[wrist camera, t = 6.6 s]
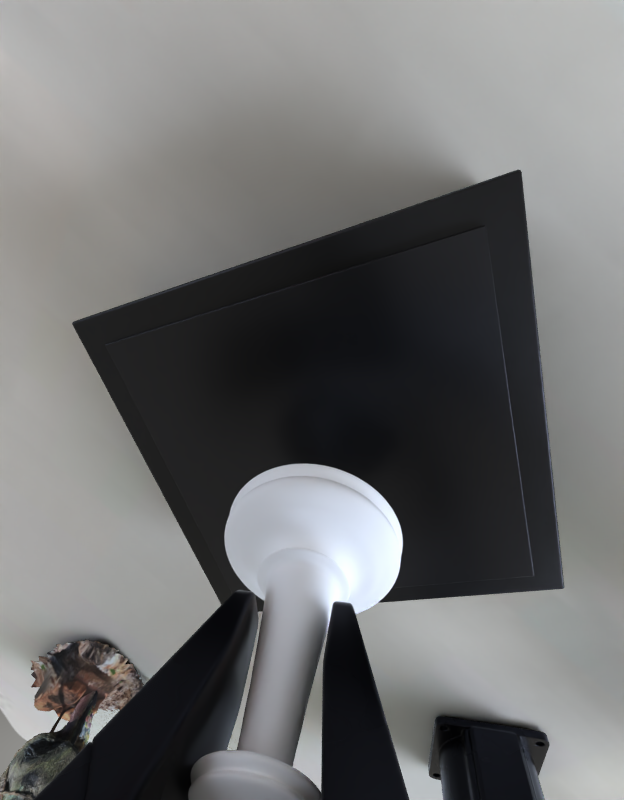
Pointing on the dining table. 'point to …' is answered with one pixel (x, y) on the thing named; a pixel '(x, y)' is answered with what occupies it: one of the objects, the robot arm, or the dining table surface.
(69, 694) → the grey mottled stone figure
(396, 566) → the chess piece
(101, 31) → the dining table surface
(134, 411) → the stand
